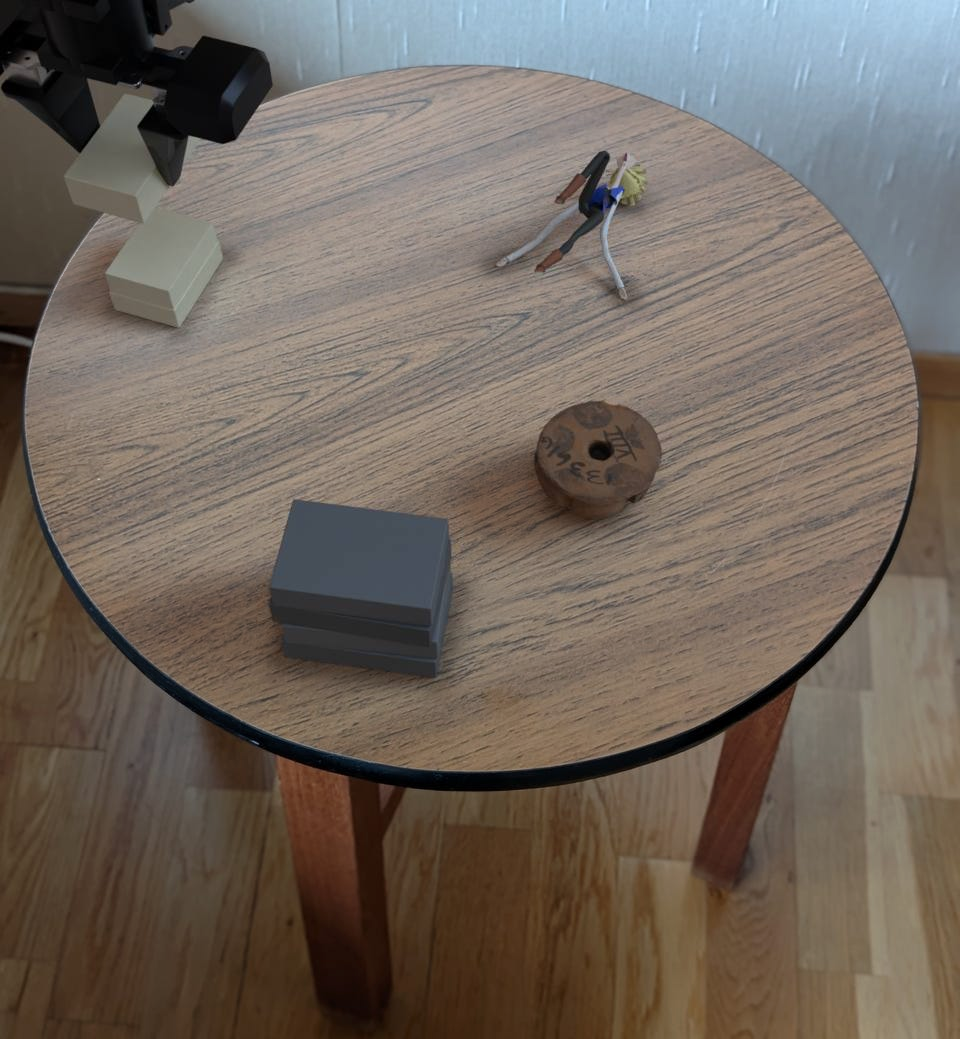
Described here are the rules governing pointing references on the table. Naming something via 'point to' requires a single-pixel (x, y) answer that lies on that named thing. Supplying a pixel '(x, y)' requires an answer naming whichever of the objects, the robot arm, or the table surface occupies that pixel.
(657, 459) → the artifact
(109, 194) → the cream block
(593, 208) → the figurine
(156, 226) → the sage lidded box
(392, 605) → the grey stack
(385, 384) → the table surface
